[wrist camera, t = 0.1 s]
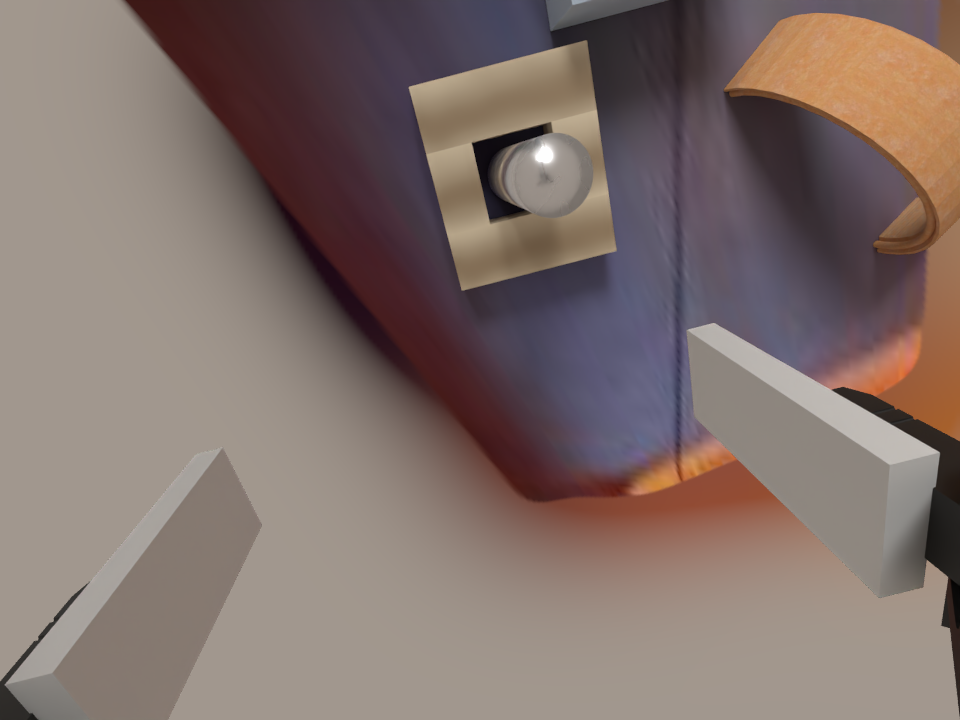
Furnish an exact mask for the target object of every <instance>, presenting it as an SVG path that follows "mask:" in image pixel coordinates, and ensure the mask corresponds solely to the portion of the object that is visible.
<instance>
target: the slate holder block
mask: <svg viewBox="0 0 960 720" xmlns="http://www.w3.org/2000/svg"><path fill="white" fill-rule="evenodd" d="M664 1H668V0H546V6H547V13H548V19H549V25H550V31H554V30H558V29H562V28H565V27H569V26H573V25H577V24H581V23H584V22H588V21H592V20H596V19H600V18H603V17H607V16H611V15H615V14H619V13H622V12H626V11H630V10H634V9H638V8H641V7H645V6H649V5H653V4H657V3H660V2H664Z"/></svg>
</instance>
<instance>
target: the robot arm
mask: <svg viewBox="0 0 960 720" xmlns="http://www.w3.org/2000/svg"><path fill="white" fill-rule="evenodd" d="M687 340H688V351H689V362H690V374H691V385H692V396H693V407H694V417H695V418H696V419H697V420H698V421H699V422H700V423H701V424H702V425H703V426H704V427H705V428H706V429H707V430H708V431H709V432H710V433H711V434H712V435H713V436H714V437H715V438H716V439H717V440H718V441H720V442H721V443H722V444H723V445H724V446H725V447H726V448H727V449H728V450H729V451H730V452H731V453H732V454H733V455H734V456H735V457H736V458H737V459H738V460H739V461H740V462H741V463H742V464H743V465H744V466H745V467H746V468H747V469H748V470H749V471H750V472H751V473H752V474H753V475H754V476H755V477H756V478H757V479H758V480H759V481H760V482H761V483H762V484H763V485H764V486H765V487H766V488H768V490H770V492H771V493H773V494H774V495H775V496H776V497H777V498H778V499H779V500H780V501H781V502H782V503H783V504H784V505H785V506H786V507H787V508H788V509H789V510H790V511H791V512H792V513H793V514H794V515H795V516H796V517H797V518H798V519H799V520H800V521H801V522H802V523H803V524H804V525H805V526H806V527H807V528H808V529H809V530H810V531H811V532H812V533H813V534H814V535H815V536H816V537H817V538H819V540H820V541H821V542H822V543H823V544H825V545H826V546H827V547H828V548H829V549H830V550H831V551H832V552H833V553H834V554H835V555H836V556H837V557H838V558H839V559H840V560H841V561H842V562H843V563H844V564H845V565H846V566H847V567H848V568H849V569H850V570H851V571H852V572H853V573H854V574H855V575H856V576H857V577H858V578H859V579H860V580H861V581H862V582H863V583H864V584H865V585H866V586H868V588H869V589H870V590H871V591H872V592H873V593H875V595H877V597H879V598H882V597H886V596H890V595H894V594H898V593H902V592H906V591H910V590H914V589H919V588H923V585H924V577H925V568H926V561H927V560H928V561H929V562H931V563H932V564H933V565H934V566H935V567H937V568H938V569H939V570H940V571H942V572H943V573H944V574H946V575H947V576H948V584H947V591H946V598H945V604H944V611H943V619H942V626H944V627H948V628H950V632H951V641H952V651H953V660H954V669H955V678H956V688H957V696H958V706H959V714H960V441H958V440H956V439H954V438H952V437H950V436H948V435H947V434H945V433H943V432H941V431H939V430H937V429H935V428H933V427H931V426H930V425H928V424H926V423H924V422H922V421H920V420H918V419H917V420H914V419H913V417H912V416H911V415H909V414H907V413H905V412H903V411H901V410H899V409H897V410H895V408H894V406H892V405H890V404H888V403H886V402H884V401H882V400H880V399H878V398H877V397H875V396H873V395H871V394H867V393H863V392H860V391H856V390H852V389H849V388H845V387H841V388H837V389H833V390H830V389H828V388H827V387H825V386H823V385H821V384H820V383H818V382H816V381H814V380H813V379H811V378H809V377H807V376H806V375H804V374H802V373H800V372H799V371H797V370H795V369H793V368H792V367H790V366H788V365H786V364H785V363H783V362H781V361H779V360H778V359H776V358H774V357H772V356H771V355H769V354H767V353H765V352H764V351H762V350H760V349H758V348H757V347H755V346H753V345H751V344H750V343H748V342H746V341H744V340H743V339H741V338H739V337H738V336H736V335H734V334H732V333H731V332H729V331H727V330H725V329H724V328H722V327H720V326H718V325H717V324H715V323H712V324H708V325H704V326H700V327H696V328H692V329H689V330H687ZM261 527H262V524H261V522H260V520H259V518H258V516H257V514H256V512H255V510H254V508H253V506H252V504H251V502H250V500H249V498H248V496H247V494H246V492H245V490H244V488H243V486H242V485H241V482H240V481H239V478H238V476H237V475H236V472H235V470H234V469H233V466H232V464H231V463H230V461H229V459H228V457H227V455H226V453H225V451H224V449H223V448H219V449H215V450H211V451H207V452H203V453H199V454H196V455H195V456H194V457H193V459H192V460H191V461H190V462H189V463H188V465H187V466H186V467H185V468H184V470H183V471H182V472H181V473H180V474H179V476H178V477H177V478H176V479H175V481H174V482H173V483H172V484H171V485H170V486H169V488H168V489H167V490H166V491H165V492H164V494H163V495H162V496H161V497H160V498H159V500H158V501H157V502H156V503H155V504H154V506H153V507H152V508H151V510H149V512H148V513H147V514H146V515H145V517H144V518H143V519H142V520H141V521H140V522H139V524H138V525H137V526H136V527H135V529H134V530H133V531H132V532H131V534H130V535H129V536H128V537H127V538H126V539H125V541H124V542H123V543H122V544H121V545H120V547H119V548H118V549H117V550H116V551H115V553H114V554H113V555H112V556H111V557H110V559H109V560H108V561H107V562H106V563H105V565H104V566H103V567H102V568H101V569H100V571H99V572H98V573H97V574H96V575H95V577H94V578H93V579H92V580H91V581H90V582H89V583H88V584H86V585H85V586H84V587H83V588H82V589H80V590H79V591H78V592H77V593H76V594H75V595H74V596H72V597H71V598H70V600H69V601H68V602H67V603H66V604H65V605H64V607H63V608H62V609H61V610H60V611H59V613H58V614H57V615H56V616H55V617H54V622H52V623H49V624H48V626H47V627H46V628H45V629H44V630H43V632H42V633H41V634H40V635H39V636H38V638H39V639H38V641H34V642H33V644H32V645H31V646H30V647H29V648H28V649H27V651H26V652H25V653H24V654H23V655H22V656H21V658H20V659H19V660H18V661H17V662H16V664H15V665H14V666H13V667H12V668H11V669H10V671H9V672H8V673H7V674H6V675H5V677H4V678H3V679H2V680H1V681H0V720H168V719H169V717H170V714H171V712H172V710H173V708H174V706H175V704H176V702H177V700H178V698H179V696H180V694H181V692H182V690H183V688H184V686H185V684H186V681H187V679H188V677H189V675H190V673H191V671H192V669H193V667H194V665H195V663H196V661H197V659H198V656H199V654H200V653H201V651H202V648H203V646H204V644H205V642H206V640H207V638H208V636H209V634H210V632H211V630H212V628H213V626H214V624H215V622H216V620H217V617H218V615H219V613H220V611H221V609H222V607H223V605H224V603H225V601H226V599H227V597H228V595H229V593H230V591H231V589H232V587H233V584H234V582H235V580H236V578H237V576H238V574H239V572H240V570H241V568H242V566H243V564H244V562H245V560H246V557H247V555H248V553H249V551H250V549H251V547H252V545H253V543H254V541H255V539H256V537H257V535H258V533H259V531H260V529H261Z"/></svg>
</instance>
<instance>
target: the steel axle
mask: <svg viewBox="0 0 960 720" xmlns="http://www.w3.org/2000/svg"><path fill="white" fill-rule="evenodd" d="M487 175H488V182H489V185H490V188H491V189H492V191H493V192H494V193H495V194H496V195H497V196H498V197H499V198H501V199H503V200H505V201H507V202H509V203H511V204H514V205H516V206H518V207H520V208H523V209H525V210H527V211H529V212H531V213H534V214H536V215H538V216H541V217H545V218H558V217H562V216H565V215H568V214H570V213H572V212H573V211H575V210H576V209H577V208H578V207H579V206H580V205H581V204H582V203H583V202H584V200H585V199H586V198H587V196H588V194H589V192H590V189H591V186H592V182H593V165H592V160H591V158H590V155H589V153H588V151H587V150H586V148H585V147H584V146H583V145H582V144H581V143H580V142H579V141H578V140H577V139H575V138H574V137H572V136H569V135H567V134H563V133H549V134H545V135H542V136H539V137H536V138H533V139H529V140H526V141H523V142H520V143H517V144H514V145H511V146H508V147H505V148H503V149H501V150H499V151H498V152H497V153H496V154H495V155H494V156H493V158H492V159H491V161H490V163H489V166H488V173H487Z"/></svg>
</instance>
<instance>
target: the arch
mask: <svg viewBox="0 0 960 720" xmlns="http://www.w3.org/2000/svg"><path fill="white" fill-rule="evenodd" d="M724 91H725V92H728V91H730V92H729V95H730V96H731V97H736V96H743V95H747V96H761V97H766V98H771V99H776V100H780V101H783V102H786V103H790V104H793V105H796V106H799V107H801V108H804V109H806V110H808V111H811V112H813V113H815V114H818V115H820V116H822V117H824V118H826V119H828V120H830V121H832V122H833V123H835V124H837V125H839V126H841V127H843V128H844V129H846V130H848V131H849V132H851V133H852V134H854V135H855V136H857V137H858V138H860V139H861V140H863V141H865V142H866V143H867V144H868V145H870V146H871V147H872V148H874V149H875V150H876V151H877V152H879V153H880V154H881V155H883V156H884V157H885V158H886V159H887V160H888V161H889V162H890V163H891V164H892V165H893V166H894V167H895V168H896V169H898V170H899V171H900V172H901V173H902V175H903V176H904V177H905V178H906V179H907V181H908V182H909V183H910V184H911V186H912V187H913V188H914V189H915V191H916V193H917V195H918V196H919V198H916V199H915V200H914V201H913V202H912V203H911V204H910V205H909V206H908V207H907V208H906V209H905V210H904V211H903V212H902V213H901V214H900V215H899V216H898V217H897V218H896V219H895V221H894V222H893V223H892V224H891V225H890V226H889V227H888V228H887V229H886V230H885V231H884V232H883V233H882V234H881V235H880V236H879V241H875V242H874V243H873V246H874V247H876V248H878V249H877V252H879V253H885V254H898V255H902V254H914V253H917V252H920V251H923V250H926V249H927V248H929V247H930V246H931V245H933V244H934V243H935V242H936V241H937V240H938V239H939V238H940V237H941V236H942V235H943V234H944V233H945V232H946V231H947V230H948V229H949V228H950V227H951V226H952V225H953V224H954V223H955V222H956V221H957V220H958V219H959V218H960V65H959V64H958V63H956V62H955V61H954V60H952V59H951V58H950V57H949V56H947V55H946V54H944V53H942V52H941V51H939V50H937V49H936V48H934V47H932V46H931V45H929V44H927V43H926V42H924V41H922V40H920V39H918V38H916V37H914V36H911V35H909V34H907V33H905V32H902V31H900V30H898V29H896V28H893V27H890V26H887V25H884V24H880V23H877V22H874V21H871V20H868V19H864V18H858V17H852V16H847V15H841V14H825V13H812V14H803V15H795V16H792V17H789V18H786V19H783V20H780V21H779V22H778V23H777V24H776V26H775V27H774V28H773V29H772V31H771V32H770V33H769V34H768V36H767V37H766V38H765V39H764V40H763V42H762V43H761V44H760V45H759V47H758V48H757V49H756V50H755V52H754V53H753V54H752V55H751V57H750V58H749V59H748V60H747V61H746V63H745V64H744V65H743V66H742V68H741V69H740V70H739V71H738V73H737V74H736V75H735V76H734V78H733V79H732V80H731V81H730V82H729V84H728V85H727V86H726V87H725V89H724Z"/></svg>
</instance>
